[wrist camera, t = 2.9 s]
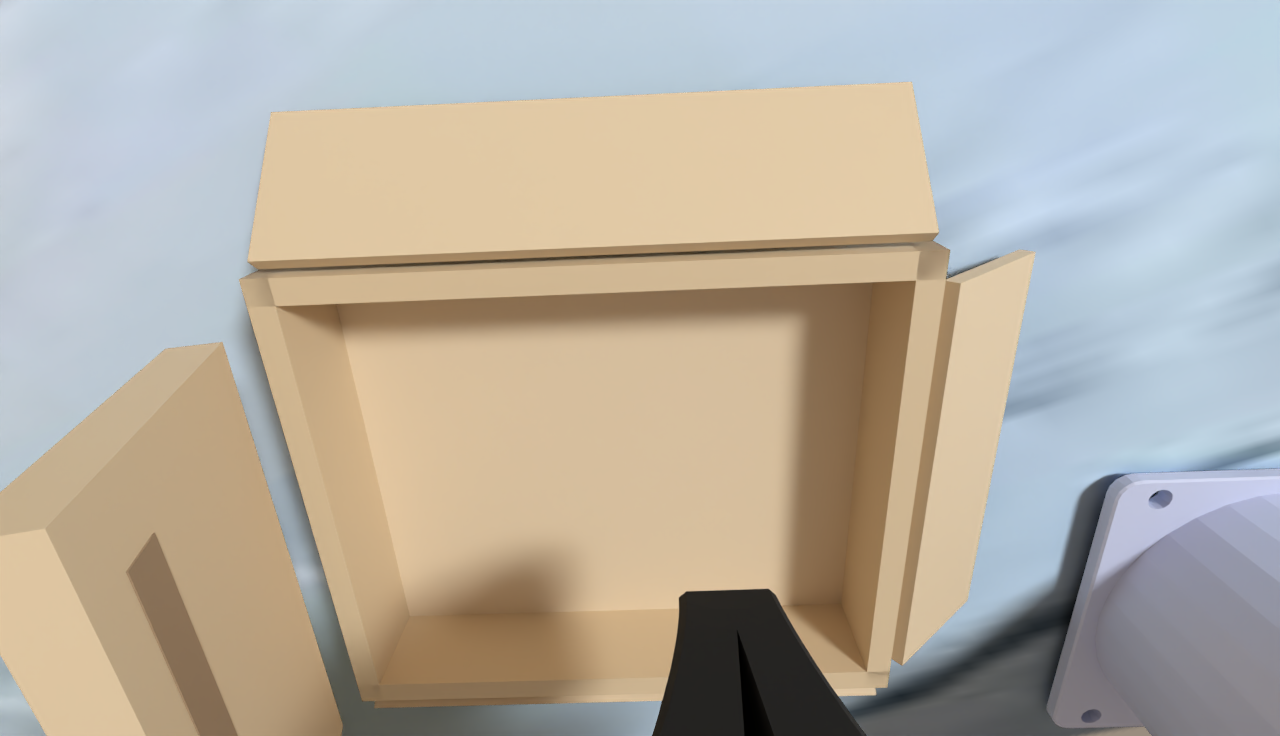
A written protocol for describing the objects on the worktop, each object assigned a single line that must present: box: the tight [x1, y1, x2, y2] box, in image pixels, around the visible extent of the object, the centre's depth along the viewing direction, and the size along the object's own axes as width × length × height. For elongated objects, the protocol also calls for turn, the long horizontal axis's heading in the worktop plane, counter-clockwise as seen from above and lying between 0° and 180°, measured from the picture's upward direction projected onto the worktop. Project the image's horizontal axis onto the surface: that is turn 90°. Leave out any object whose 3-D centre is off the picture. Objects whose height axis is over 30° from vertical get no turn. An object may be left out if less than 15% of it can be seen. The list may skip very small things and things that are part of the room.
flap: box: [0, 342, 343, 736], centre depth 10 cm, size 5×9×1 cm
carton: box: [239, 82, 1035, 708], centre depth 14 cm, size 15×15×2 cm
